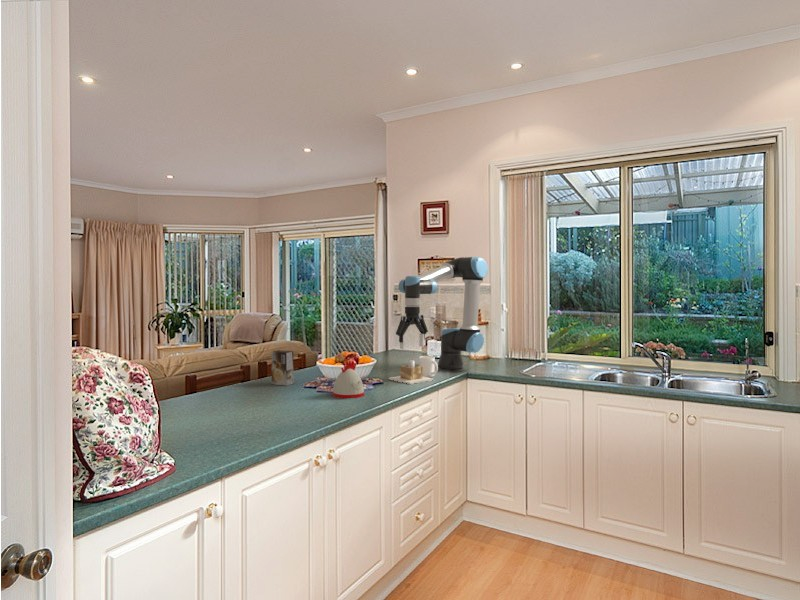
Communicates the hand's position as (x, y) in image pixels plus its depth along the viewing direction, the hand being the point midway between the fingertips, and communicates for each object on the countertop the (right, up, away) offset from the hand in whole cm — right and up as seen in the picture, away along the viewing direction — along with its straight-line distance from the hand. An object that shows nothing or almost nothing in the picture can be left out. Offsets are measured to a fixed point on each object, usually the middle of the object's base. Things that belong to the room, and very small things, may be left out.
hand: (412, 347), depth 267 cm
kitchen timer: (-29, -18, -35) cm, 49 cm away
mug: (+9, -17, +11) cm, 22 cm away
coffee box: (-63, -17, -13) cm, 67 cm away
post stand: (0, -17, +1) cm, 17 cm away
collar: (0, -16, +1) cm, 16 cm away
